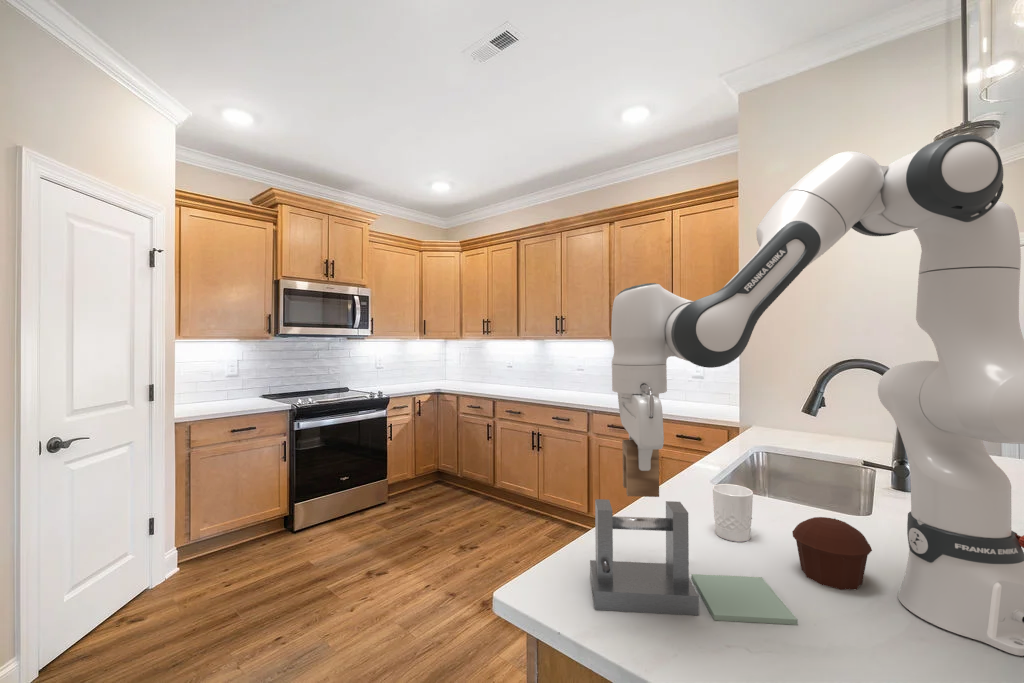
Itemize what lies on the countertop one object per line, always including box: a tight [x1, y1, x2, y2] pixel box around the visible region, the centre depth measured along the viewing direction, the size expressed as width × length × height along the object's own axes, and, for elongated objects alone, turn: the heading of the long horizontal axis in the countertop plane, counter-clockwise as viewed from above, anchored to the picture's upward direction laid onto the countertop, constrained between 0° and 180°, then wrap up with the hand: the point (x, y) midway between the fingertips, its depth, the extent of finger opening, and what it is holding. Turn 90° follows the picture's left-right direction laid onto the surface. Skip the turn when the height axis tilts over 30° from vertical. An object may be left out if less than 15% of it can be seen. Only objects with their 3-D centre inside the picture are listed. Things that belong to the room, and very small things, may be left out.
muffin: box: [792, 516, 873, 591], centre depth 81 cm, size 12×11×10 cm
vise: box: [589, 498, 700, 616], centre depth 76 cm, size 16×10×15 cm, turn 84°
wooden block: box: [621, 439, 660, 498], centre depth 76 cm, size 5×5×8 cm
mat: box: [690, 573, 799, 626], centre depth 74 cm, size 12×12×1 cm
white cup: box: [712, 483, 754, 543], centre depth 98 cm, size 8×8×10 cm
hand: (640, 463), depth 76 cm, fingers closed on wooden block, 5 cm apart
